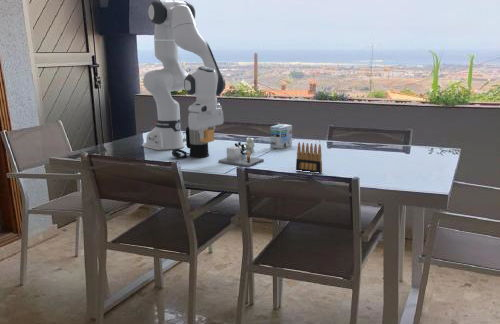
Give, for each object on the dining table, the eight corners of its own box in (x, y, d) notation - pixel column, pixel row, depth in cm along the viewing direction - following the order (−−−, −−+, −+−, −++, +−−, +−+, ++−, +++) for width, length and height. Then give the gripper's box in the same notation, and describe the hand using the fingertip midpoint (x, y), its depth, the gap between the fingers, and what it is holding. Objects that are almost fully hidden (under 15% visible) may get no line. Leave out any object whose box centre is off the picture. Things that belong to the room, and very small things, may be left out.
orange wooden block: (199, 141, 204) (199, 129, 202) (206, 139, 207) (206, 128, 206) (207, 142, 201) (207, 131, 200) (214, 140, 205) (214, 129, 204)
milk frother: (213, 155, 222) (212, 124, 218) (192, 162, 209) (191, 129, 205) (189, 151, 229) (188, 121, 225) (167, 158, 216) (166, 126, 212)
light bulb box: (280, 149, 233) (281, 127, 230) (269, 147, 237) (269, 126, 234) (292, 145, 241) (292, 124, 239) (281, 144, 245) (281, 123, 243)
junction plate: (218, 162, 207) (218, 149, 206) (234, 157, 217) (233, 144, 215) (248, 167, 199) (248, 153, 197) (263, 161, 208) (263, 148, 207)
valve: (246, 150, 231) (233, 155, 221) (246, 137, 230) (233, 141, 220) (258, 151, 228) (245, 156, 218) (258, 138, 226) (245, 142, 216)
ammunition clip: (322, 173, 188) (322, 143, 186) (320, 174, 187) (321, 144, 184) (297, 169, 194) (297, 141, 191) (295, 170, 192) (296, 142, 189)
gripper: (215, 102, 210) (215, 132, 214) (185, 107, 194) (186, 140, 197) (227, 103, 207) (226, 134, 211) (197, 109, 190) (197, 142, 194)
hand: (206, 137), depth 204 cm, fingers closed on orange wooden block, 4 cm apart
